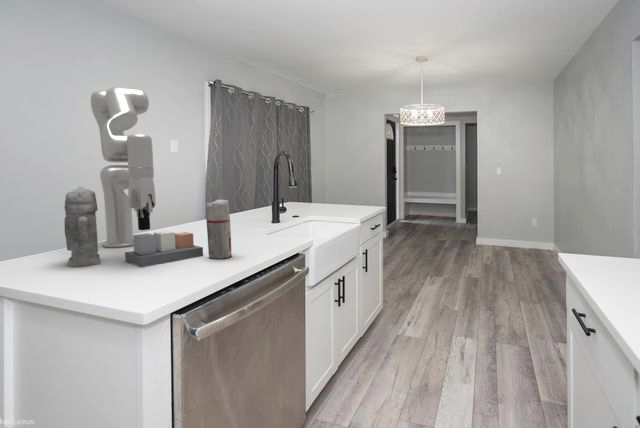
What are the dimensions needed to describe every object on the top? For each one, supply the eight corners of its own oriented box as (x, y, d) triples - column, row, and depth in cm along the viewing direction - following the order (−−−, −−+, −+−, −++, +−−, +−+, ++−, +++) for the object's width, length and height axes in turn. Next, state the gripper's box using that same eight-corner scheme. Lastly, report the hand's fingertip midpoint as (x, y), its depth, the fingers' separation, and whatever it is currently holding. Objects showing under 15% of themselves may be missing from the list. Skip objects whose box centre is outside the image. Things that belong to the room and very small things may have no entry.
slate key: (134, 253, 139) (133, 235, 138) (148, 250, 143) (147, 233, 142) (141, 255, 136) (140, 236, 135) (155, 252, 139) (155, 234, 139)
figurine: (100, 256, 147) (95, 185, 144) (101, 265, 135) (96, 187, 132) (67, 260, 142) (62, 186, 140) (66, 269, 130) (60, 188, 127)
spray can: (226, 260, 142) (224, 201, 140) (203, 258, 144) (201, 200, 141) (236, 254, 150) (234, 198, 148) (214, 253, 152) (212, 198, 150)
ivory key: (154, 249, 144) (153, 232, 144) (168, 247, 148) (167, 230, 147) (161, 251, 141) (160, 234, 140) (175, 249, 145) (174, 232, 144)
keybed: (125, 261, 141) (124, 252, 140) (185, 250, 157) (184, 243, 157) (142, 266, 133) (141, 257, 132) (203, 255, 149) (202, 247, 149)
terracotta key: (173, 250, 150) (172, 233, 149) (186, 248, 153) (185, 231, 153) (180, 252, 146) (180, 235, 146) (193, 250, 150) (193, 233, 149)
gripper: (119, 173, 138) (122, 229, 140) (140, 173, 128) (143, 233, 130) (141, 173, 144) (144, 226, 146) (163, 173, 134) (166, 230, 136)
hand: (144, 229), depth 138 cm, fingers closed
